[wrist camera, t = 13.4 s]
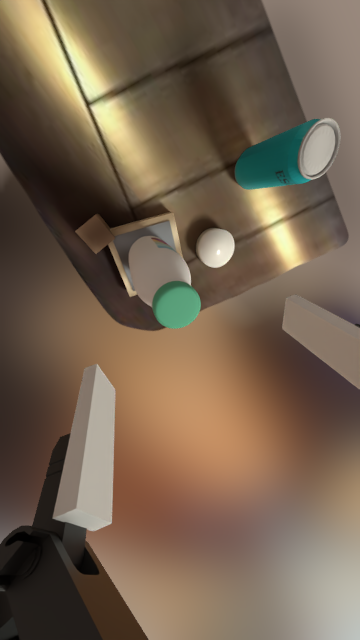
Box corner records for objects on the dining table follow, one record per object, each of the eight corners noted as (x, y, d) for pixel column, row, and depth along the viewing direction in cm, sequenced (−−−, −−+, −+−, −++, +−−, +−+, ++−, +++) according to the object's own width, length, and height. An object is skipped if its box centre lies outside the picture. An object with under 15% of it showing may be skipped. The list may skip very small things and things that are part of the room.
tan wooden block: (79, 228, 31) (75, 231, 28) (98, 213, 31) (95, 214, 27) (98, 249, 33) (95, 253, 30) (115, 235, 33) (115, 238, 30)
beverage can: (249, 195, 35) (318, 191, 23) (225, 181, 33) (287, 167, 21) (266, 159, 33) (352, 133, 21) (241, 141, 31) (322, 99, 18)
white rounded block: (192, 233, 36) (198, 235, 34) (225, 223, 37) (233, 224, 34) (198, 267, 40) (203, 271, 38) (228, 258, 41) (235, 261, 38)
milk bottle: (139, 285, 36) (156, 353, 19) (120, 245, 31) (120, 290, 15) (176, 269, 36) (223, 324, 20) (162, 227, 32) (207, 253, 15)
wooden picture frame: (103, 230, 32) (102, 232, 30) (170, 211, 33) (173, 212, 31) (129, 291, 39) (130, 297, 37) (183, 274, 40) (187, 279, 38)
